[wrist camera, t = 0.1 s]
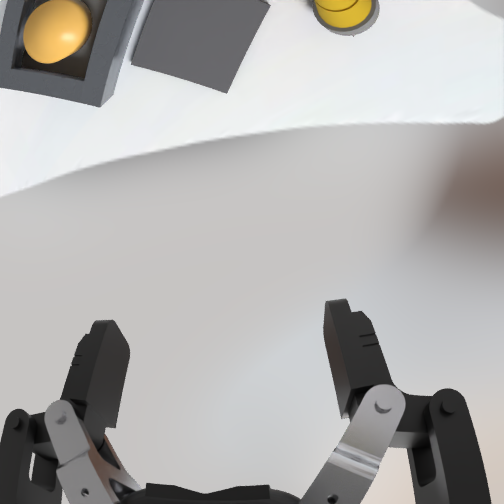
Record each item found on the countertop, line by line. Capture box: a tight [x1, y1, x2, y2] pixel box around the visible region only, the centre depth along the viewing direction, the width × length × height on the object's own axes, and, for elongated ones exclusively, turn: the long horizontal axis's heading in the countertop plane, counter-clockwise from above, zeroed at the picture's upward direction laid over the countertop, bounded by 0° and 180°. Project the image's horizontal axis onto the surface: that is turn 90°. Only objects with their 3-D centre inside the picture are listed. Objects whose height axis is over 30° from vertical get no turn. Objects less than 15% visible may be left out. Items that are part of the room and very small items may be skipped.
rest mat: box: [131, 0, 271, 94], centre depth 22 cm, size 9×9×1 cm
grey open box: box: [0, 0, 144, 107], centre depth 18 cm, size 12×12×4 cm
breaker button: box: [23, 0, 92, 63], centre depth 17 cm, size 6×6×2 cm
